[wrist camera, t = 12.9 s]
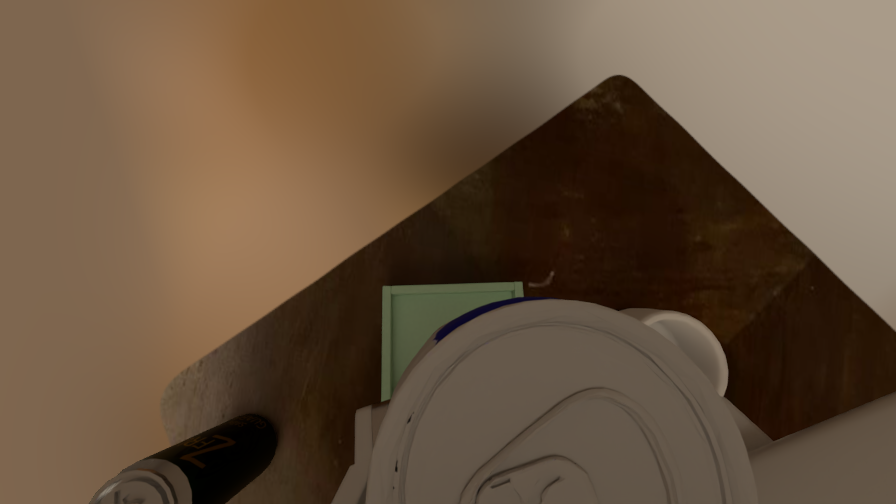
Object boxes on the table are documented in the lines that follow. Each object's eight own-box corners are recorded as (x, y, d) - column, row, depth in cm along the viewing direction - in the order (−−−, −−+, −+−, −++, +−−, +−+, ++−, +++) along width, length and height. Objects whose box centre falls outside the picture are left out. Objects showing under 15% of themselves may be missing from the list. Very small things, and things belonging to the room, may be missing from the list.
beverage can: (532, 354, 19) (839, 439, 5) (480, 440, 18) (668, 923, 3) (455, 300, 20) (508, 220, 5) (400, 379, 19) (266, 567, 4)
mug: (666, 303, 34) (715, 298, 28) (693, 401, 32) (752, 418, 26) (556, 317, 33) (582, 315, 27) (575, 419, 31) (608, 440, 25)
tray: (385, 410, 30) (381, 417, 28) (386, 288, 33) (382, 286, 31) (526, 404, 31) (533, 410, 29) (516, 284, 34) (522, 281, 31)
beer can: (278, 474, 29) (171, 575, 17) (217, 478, 29) (65, 582, 17) (283, 410, 30) (185, 462, 18) (224, 413, 30) (87, 468, 18)
